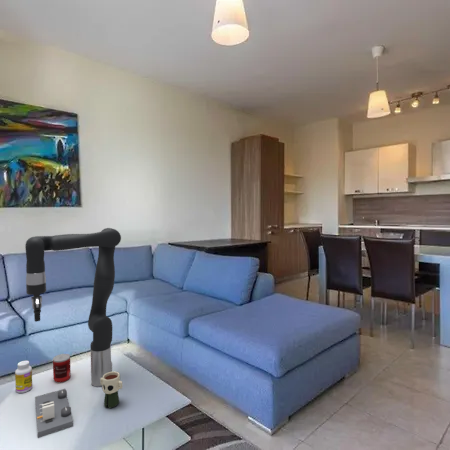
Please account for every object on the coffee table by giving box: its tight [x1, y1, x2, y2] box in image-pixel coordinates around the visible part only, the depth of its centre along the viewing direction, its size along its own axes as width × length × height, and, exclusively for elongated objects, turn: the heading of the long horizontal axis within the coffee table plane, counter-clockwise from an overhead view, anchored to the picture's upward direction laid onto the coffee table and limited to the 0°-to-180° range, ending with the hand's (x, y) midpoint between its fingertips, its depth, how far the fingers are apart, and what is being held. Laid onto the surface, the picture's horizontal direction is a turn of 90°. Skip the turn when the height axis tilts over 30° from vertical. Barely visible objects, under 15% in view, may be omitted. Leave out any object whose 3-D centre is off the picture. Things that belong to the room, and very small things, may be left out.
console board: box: [34, 388, 74, 438], centre depth 134 cm, size 12×26×4 cm, turn 32°
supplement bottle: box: [14, 360, 33, 394], centre depth 150 cm, size 7×7×13 cm
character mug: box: [100, 370, 123, 409], centre depth 140 cm, size 11×7×13 cm, turn 73°
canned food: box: [52, 353, 72, 384], centre depth 160 cm, size 8×8×11 cm
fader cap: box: [42, 401, 55, 421], centre depth 128 cm, size 4×3×5 cm
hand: (37, 320), depth 143 cm, fingers closed
